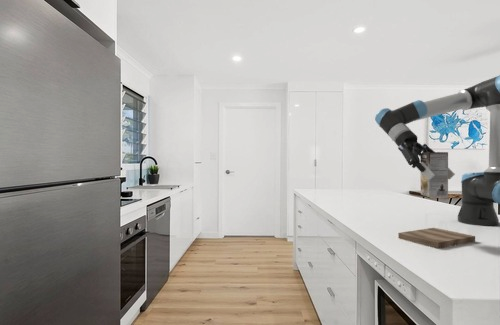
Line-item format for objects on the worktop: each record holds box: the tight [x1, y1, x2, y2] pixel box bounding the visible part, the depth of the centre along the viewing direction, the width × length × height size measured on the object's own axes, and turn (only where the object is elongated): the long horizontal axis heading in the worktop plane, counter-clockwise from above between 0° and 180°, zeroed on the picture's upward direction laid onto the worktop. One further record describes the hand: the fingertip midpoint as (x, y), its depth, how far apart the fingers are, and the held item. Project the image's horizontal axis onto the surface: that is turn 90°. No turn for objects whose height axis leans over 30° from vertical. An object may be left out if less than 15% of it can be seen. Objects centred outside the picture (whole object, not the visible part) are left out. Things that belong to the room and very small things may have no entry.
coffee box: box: [419, 151, 449, 199], centre depth 107 cm, size 9×6×16 cm
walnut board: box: [397, 227, 476, 250], centre depth 107 cm, size 20×15×2 cm
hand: (442, 177), depth 104 cm, fingers closed on coffee box, 10 cm apart
